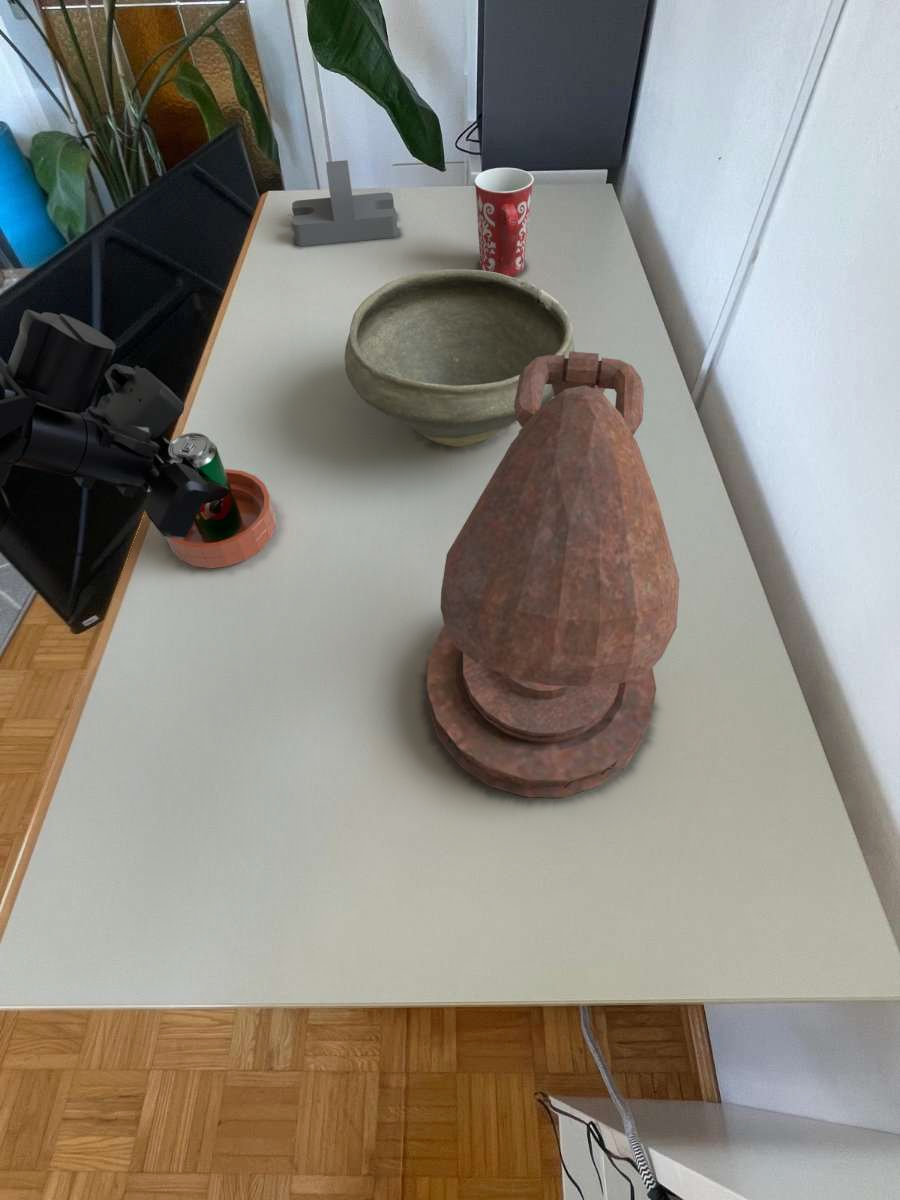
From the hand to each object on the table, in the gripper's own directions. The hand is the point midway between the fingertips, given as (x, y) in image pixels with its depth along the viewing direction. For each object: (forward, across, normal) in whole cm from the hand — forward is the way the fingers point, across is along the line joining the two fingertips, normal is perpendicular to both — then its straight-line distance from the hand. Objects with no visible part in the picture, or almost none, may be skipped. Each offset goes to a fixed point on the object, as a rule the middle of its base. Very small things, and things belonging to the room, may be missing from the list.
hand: (215, 480), depth 76 cm
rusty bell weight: (+12, -40, -2) cm, 42 cm away
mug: (+49, +22, -39) cm, 66 cm away
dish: (+4, 0, +6) cm, 7 cm away
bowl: (+28, -2, -18) cm, 34 cm away
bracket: (+41, +52, -31) cm, 74 cm away
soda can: (+4, 0, +6) cm, 7 cm away
